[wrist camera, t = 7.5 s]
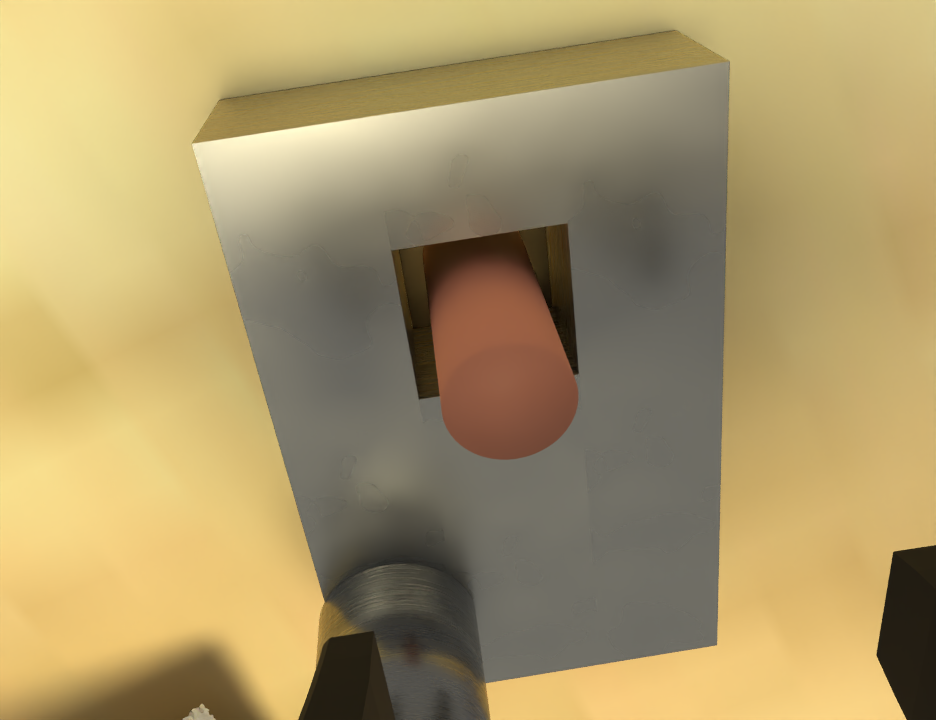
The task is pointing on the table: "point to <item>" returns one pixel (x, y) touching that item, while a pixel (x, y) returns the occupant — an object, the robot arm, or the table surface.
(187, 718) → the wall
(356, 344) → the silver box with hole
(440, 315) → the cylindrical pin
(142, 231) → the table surface
